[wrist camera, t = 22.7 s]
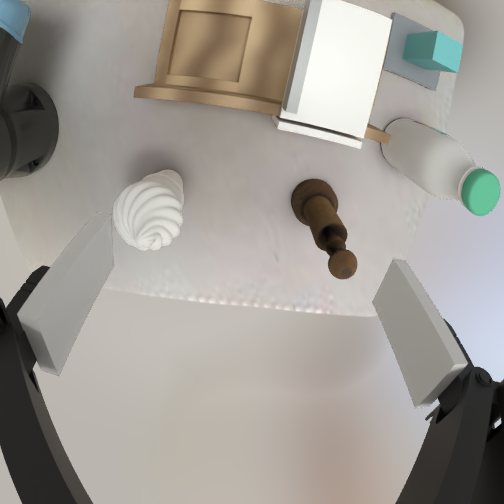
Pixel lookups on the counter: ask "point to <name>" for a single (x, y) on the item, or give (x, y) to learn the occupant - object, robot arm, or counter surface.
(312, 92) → the lid
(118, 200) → the soft serve ice cream cone
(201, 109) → the counter surface
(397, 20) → the coaster
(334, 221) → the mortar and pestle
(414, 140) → the milk bottle
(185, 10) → the brown piece
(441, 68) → the block
